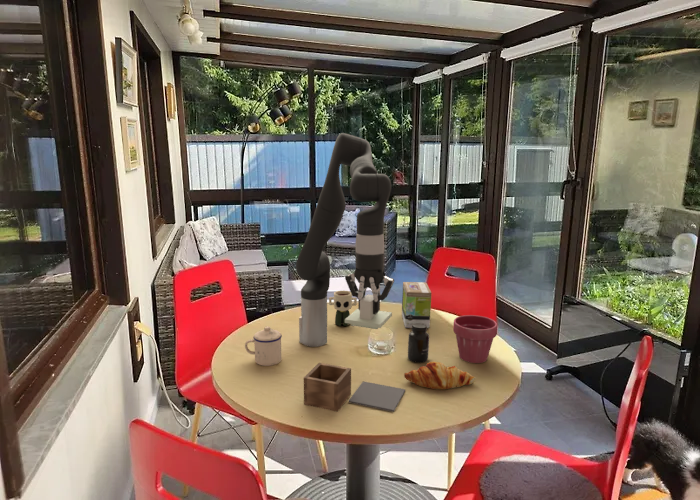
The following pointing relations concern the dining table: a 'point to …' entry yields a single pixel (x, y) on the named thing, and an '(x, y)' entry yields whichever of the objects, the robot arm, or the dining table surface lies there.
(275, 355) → the teacup with lid
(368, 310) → the lid
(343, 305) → the character mug
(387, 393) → the rubber pad
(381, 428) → the dining table surface
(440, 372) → the croissant
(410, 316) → the tea box
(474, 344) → the plant pot
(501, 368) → the dining table surface
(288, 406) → the dining table surface
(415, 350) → the supplement bottle
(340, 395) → the walnut box
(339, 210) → the robot arm
